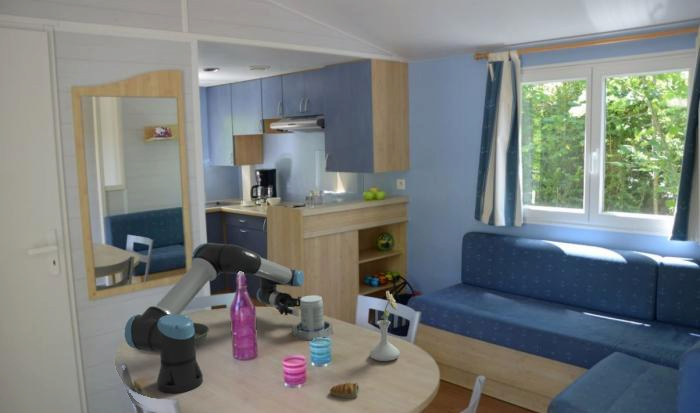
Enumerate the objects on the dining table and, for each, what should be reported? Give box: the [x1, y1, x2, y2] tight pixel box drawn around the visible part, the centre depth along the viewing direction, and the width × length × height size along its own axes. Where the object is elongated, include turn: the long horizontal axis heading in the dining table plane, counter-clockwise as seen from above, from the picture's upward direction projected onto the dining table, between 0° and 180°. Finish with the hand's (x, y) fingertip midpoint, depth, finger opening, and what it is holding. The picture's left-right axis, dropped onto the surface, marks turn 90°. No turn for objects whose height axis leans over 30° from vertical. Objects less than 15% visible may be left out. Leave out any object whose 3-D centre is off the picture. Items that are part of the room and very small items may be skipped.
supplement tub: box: [299, 294, 325, 332], centre depth 243 cm, size 10×10×15 cm
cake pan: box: [193, 322, 211, 347], centre depth 240 cm, size 25×25×4 cm
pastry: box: [329, 382, 360, 399], centre depth 185 cm, size 9×7×4 cm
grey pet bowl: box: [293, 320, 334, 341], centre depth 244 cm, size 16×16×3 cm
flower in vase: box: [369, 290, 401, 362], centre depth 213 cm, size 13×11×25 cm
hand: (310, 309), depth 245 cm, fingers open, 13 cm apart
